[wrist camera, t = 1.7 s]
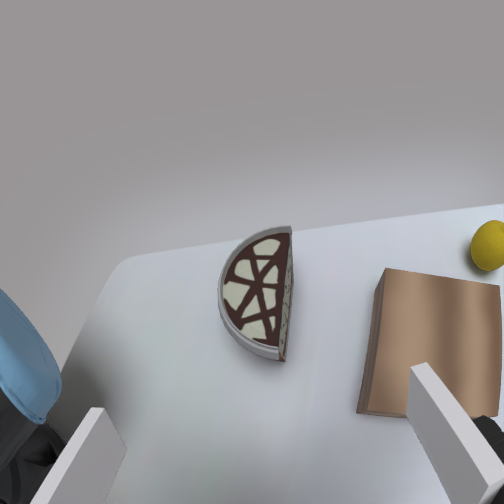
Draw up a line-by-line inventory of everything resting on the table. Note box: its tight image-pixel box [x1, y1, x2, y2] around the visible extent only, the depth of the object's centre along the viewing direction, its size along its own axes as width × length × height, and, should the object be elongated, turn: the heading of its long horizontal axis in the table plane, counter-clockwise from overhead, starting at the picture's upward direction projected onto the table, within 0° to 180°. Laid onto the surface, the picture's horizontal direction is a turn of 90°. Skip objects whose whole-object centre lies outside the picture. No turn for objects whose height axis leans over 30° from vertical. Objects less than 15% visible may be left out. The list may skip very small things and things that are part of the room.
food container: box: [218, 226, 294, 362], centre depth 31 cm, size 12×6×10 cm, turn 172°
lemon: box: [470, 220, 504, 271], centre depth 31 cm, size 6×6×8 cm
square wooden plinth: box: [356, 268, 502, 420], centre depth 28 cm, size 14×14×6 cm
